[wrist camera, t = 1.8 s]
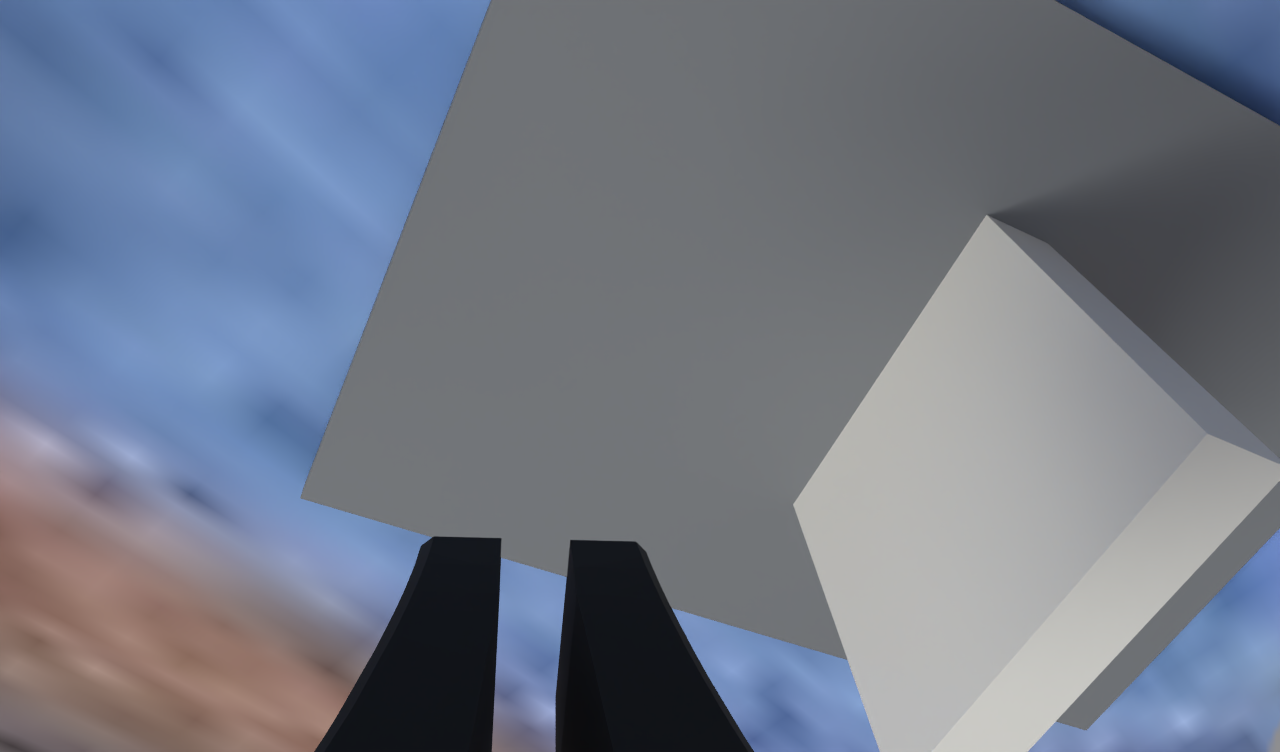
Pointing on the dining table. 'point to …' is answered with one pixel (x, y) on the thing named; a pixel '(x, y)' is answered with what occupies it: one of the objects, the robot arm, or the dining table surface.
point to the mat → (774, 272)
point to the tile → (1016, 501)
